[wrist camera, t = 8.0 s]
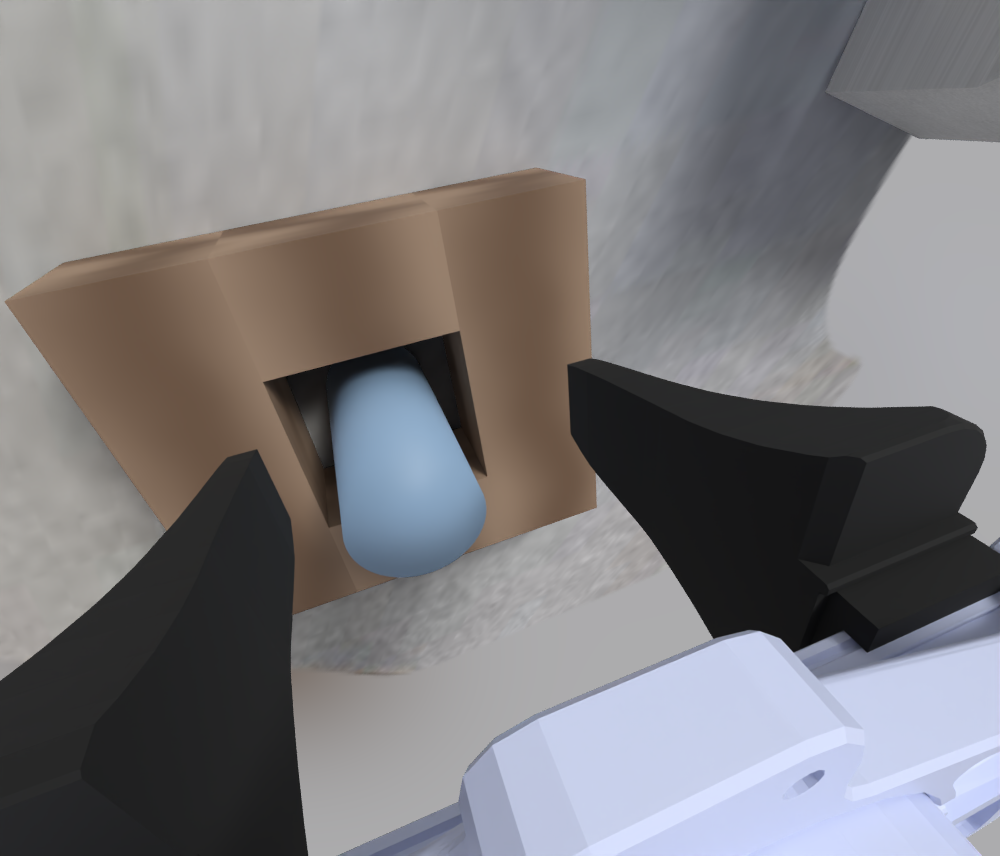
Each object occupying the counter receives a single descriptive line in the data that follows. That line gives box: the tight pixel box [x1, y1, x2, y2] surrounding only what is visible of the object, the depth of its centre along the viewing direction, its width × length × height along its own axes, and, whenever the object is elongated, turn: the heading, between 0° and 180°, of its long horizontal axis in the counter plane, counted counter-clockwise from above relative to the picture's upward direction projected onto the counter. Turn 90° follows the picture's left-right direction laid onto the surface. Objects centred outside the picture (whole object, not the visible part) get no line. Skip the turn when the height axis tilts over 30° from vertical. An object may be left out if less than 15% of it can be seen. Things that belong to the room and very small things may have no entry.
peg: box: [326, 346, 486, 577], centre depth 18 cm, size 4×4×9 cm
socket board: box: [5, 168, 597, 615], centre depth 20 cm, size 16×14×4 cm
